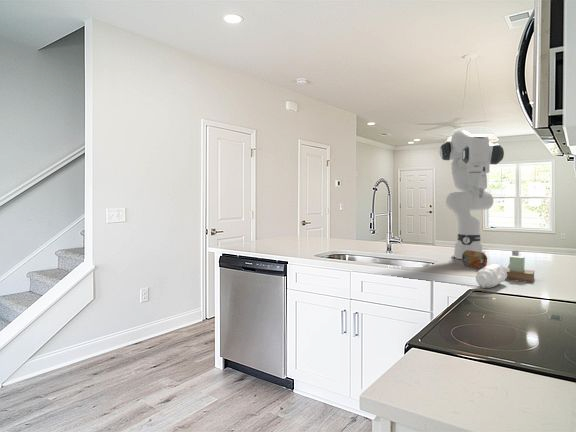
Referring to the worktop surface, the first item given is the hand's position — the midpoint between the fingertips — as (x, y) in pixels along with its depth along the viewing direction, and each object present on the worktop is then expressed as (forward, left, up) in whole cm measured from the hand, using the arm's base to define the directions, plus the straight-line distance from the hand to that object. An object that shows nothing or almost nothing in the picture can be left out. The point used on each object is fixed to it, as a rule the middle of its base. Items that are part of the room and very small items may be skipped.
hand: (478, 198), depth 182 cm
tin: (-8, -3, -35) cm, 36 cm away
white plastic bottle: (+34, +12, -35) cm, 51 cm away
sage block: (+11, +18, -32) cm, 38 cm away
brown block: (+11, +18, -36) cm, 41 cm away
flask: (-7, +15, -35) cm, 39 cm away
